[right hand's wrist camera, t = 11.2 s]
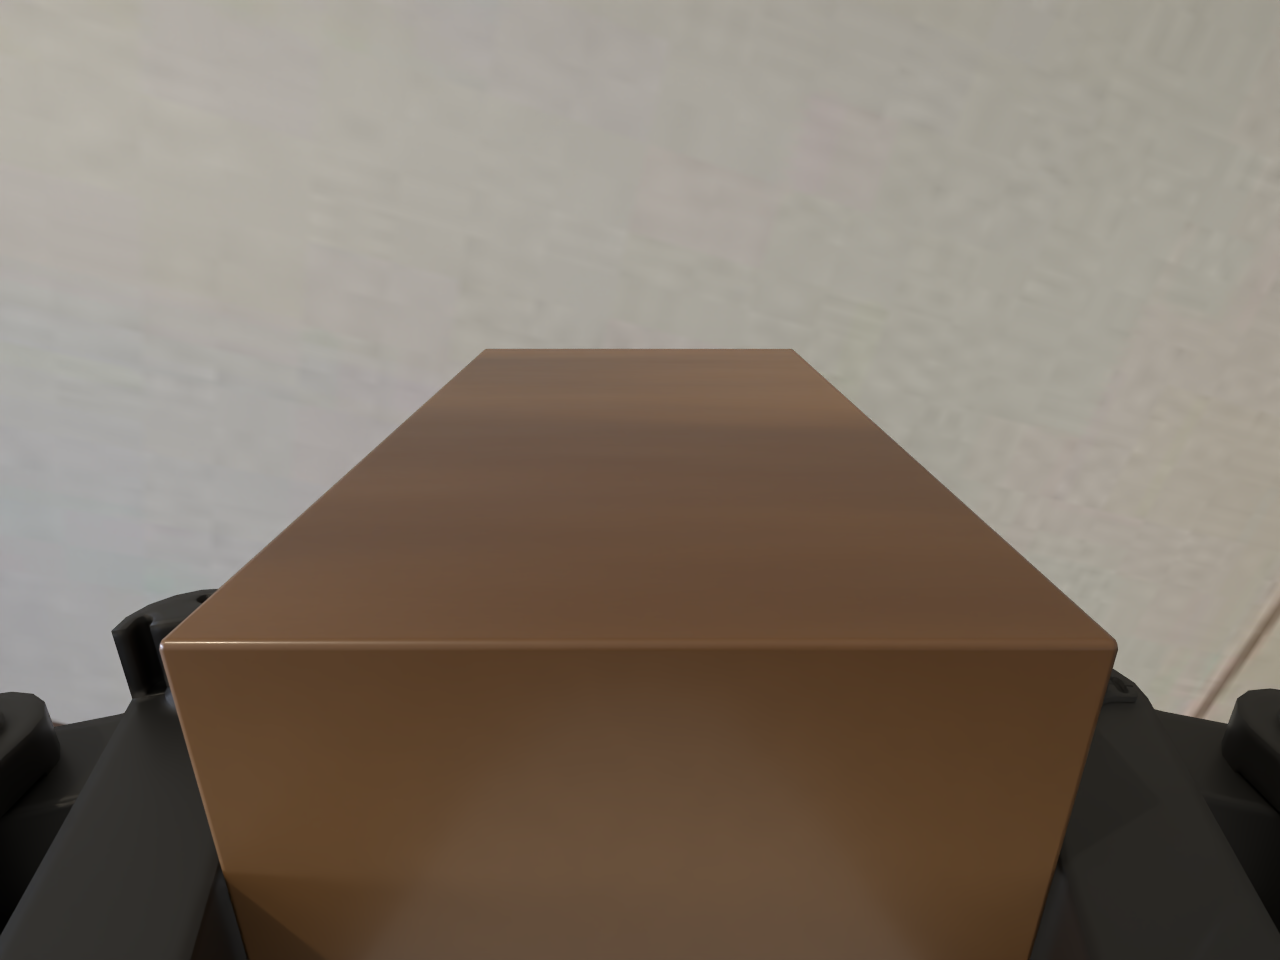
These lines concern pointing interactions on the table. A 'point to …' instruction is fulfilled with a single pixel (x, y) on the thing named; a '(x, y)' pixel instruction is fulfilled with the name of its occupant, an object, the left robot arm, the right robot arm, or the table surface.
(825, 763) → the box
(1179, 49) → the table surface
